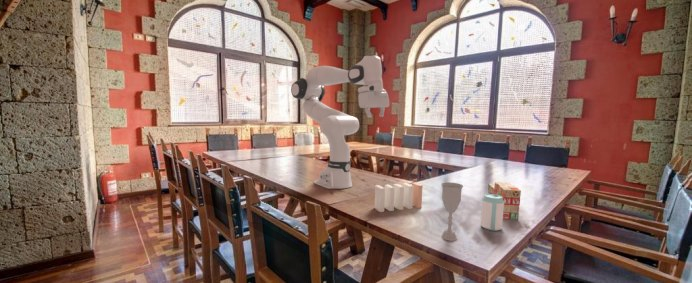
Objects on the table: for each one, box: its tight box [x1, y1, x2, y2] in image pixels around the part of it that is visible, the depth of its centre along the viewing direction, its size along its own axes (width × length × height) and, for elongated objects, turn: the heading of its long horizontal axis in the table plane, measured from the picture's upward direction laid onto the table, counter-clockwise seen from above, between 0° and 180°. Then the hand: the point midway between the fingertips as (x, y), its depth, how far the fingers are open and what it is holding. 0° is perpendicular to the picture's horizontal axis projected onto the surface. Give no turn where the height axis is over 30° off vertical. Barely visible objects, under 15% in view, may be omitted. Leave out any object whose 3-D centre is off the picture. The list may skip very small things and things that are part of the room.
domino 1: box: [374, 184, 385, 213], centre depth 125 cm, size 2×6×10 cm, turn 19°
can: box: [480, 193, 504, 232], centre depth 108 cm, size 7×7×12 cm
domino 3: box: [393, 183, 404, 211], centre depth 128 cm, size 2×6×10 cm, turn 19°
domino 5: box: [411, 182, 423, 209], centre depth 131 cm, size 2×6×10 cm, turn 19°
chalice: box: [440, 182, 464, 242], centre depth 98 cm, size 7×7×18 cm
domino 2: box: [384, 183, 395, 212], centre depth 127 cm, size 2×6×10 cm, turn 19°
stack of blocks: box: [487, 181, 522, 221], centre depth 127 cm, size 21×6×12 cm, turn 169°
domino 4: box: [402, 182, 414, 210], centre depth 130 cm, size 2×6×10 cm, turn 19°
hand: (375, 117), depth 145 cm, fingers open, 8 cm apart
